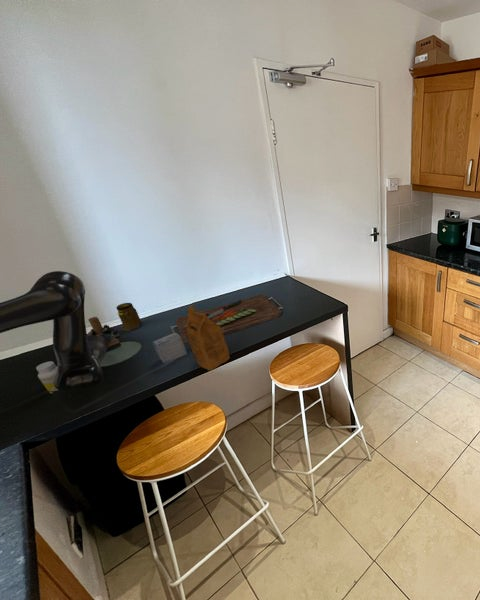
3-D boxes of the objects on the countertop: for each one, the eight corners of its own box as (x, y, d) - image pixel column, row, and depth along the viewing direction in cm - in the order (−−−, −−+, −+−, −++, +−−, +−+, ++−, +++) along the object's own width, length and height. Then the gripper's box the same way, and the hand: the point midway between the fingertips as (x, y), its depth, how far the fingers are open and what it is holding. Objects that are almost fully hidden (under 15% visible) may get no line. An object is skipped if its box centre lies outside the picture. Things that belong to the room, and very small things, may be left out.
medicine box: (182, 350, 123) (175, 331, 119) (187, 354, 121) (180, 335, 117) (159, 360, 118) (151, 341, 114) (165, 365, 115) (156, 345, 111)
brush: (99, 354, 119) (82, 323, 112) (95, 352, 120) (78, 321, 114) (121, 345, 124) (106, 315, 118) (117, 343, 126) (102, 313, 119)
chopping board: (178, 350, 123) (175, 343, 122) (168, 323, 142) (166, 317, 140) (288, 313, 149) (287, 308, 148) (268, 294, 167) (267, 289, 166)
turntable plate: (100, 374, 111) (99, 372, 110) (80, 360, 118) (79, 358, 117) (150, 350, 123) (149, 348, 123) (129, 339, 130) (128, 337, 130)
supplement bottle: (60, 382, 107) (45, 359, 103) (75, 382, 107) (61, 359, 102) (44, 393, 102) (27, 370, 98) (60, 394, 102) (44, 370, 98)
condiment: (123, 329, 137) (111, 305, 131) (146, 321, 143) (136, 298, 137) (128, 335, 133) (116, 310, 127) (151, 327, 139) (141, 303, 133)
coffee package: (218, 348, 124) (202, 299, 114) (234, 360, 118) (219, 309, 108) (191, 361, 117) (172, 309, 107) (207, 374, 111) (188, 320, 101)
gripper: (112, 335, 109) (120, 314, 122) (58, 348, 103) (72, 324, 116) (121, 352, 113) (127, 331, 126) (69, 366, 106) (81, 341, 119)
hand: (101, 328), depth 121 cm, fingers closed on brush, 2 cm apart
